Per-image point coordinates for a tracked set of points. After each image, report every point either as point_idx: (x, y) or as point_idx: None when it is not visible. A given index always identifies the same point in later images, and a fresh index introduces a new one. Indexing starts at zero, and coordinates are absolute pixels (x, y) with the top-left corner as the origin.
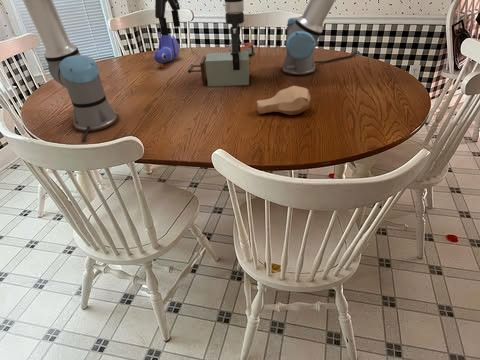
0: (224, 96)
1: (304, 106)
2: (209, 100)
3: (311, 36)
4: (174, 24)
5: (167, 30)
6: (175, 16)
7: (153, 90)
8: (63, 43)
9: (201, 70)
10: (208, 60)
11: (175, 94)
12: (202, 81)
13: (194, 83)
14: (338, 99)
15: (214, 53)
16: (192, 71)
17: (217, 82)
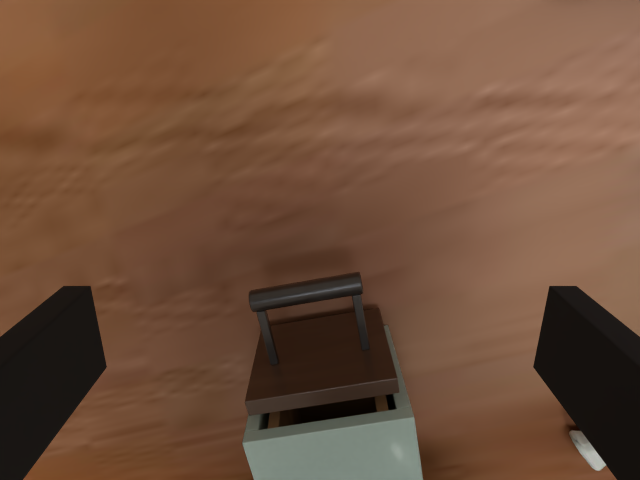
0: (166, 434)
1: None
2: (109, 391)
3: None
4: (564, 317)
5: (68, 405)
6: (636, 446)
7: (153, 65)
8: None
9: (252, 374)
10: (257, 457)
11: (131, 222)
12: (260, 335)
13: (295, 269)
14: None
15: (404, 455)
16: (258, 315)
17: None
